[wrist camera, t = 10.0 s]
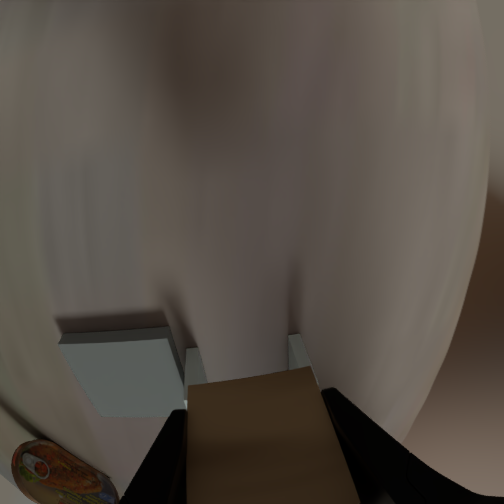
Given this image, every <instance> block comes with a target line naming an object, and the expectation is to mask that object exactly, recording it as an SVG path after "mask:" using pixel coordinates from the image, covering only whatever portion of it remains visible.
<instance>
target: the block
mask: <svg viewBox="0 0 504 504" xmlns="http://www.w3.org/2000/svg"><path fill="white" fill-rule="evenodd" d="M187 412H188V426H187V456H186V483H187V504H360V503H361V502H360V499H359V497H358V494H357V491H356V488H355V485H354V483H353V480H352V477H351V474H350V471H349V469H348V466H347V463H346V460H345V458H344V455H343V452H342V449H341V447H340V444H339V441H338V438H337V436H336V433H335V430H334V427H333V425H332V422H331V419H330V417H329V414H328V411H327V408H326V406H325V403H324V400H323V398H322V395H321V392H320V390H319V387H318V384H317V382H316V379H315V376H314V374H313V371H312V368H311V366H307V367H302V368H297V369H292V370H287V371H282V372H277V373H271V374H266V375H260V376H254V377H248V378H242V379H235V380H228V381H221V382H213V383H205V384H196V385H188V394H187Z"/></svg>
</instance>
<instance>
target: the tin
mask: <svg viewBox="0 0 504 504" xmlns="http://www.w3.org/2000/svg"><path fill="white" fill-rule="evenodd" d="M11 469H12V474H13V477H14V480H15V482H16V484H17V486H18V488H19V489H20V490H21V492H22V493H23V494H24V495H25V496H26V497H27V498H29V499H30V500H32V501H33V502H35V503H37V504H118V503H119V501H120V499H119V496H118V493H117V490H116V488H115V486H114V485H113V483H112V482H111V481H110V479H109V478H108V477H107V476H106V475H104V474H103V473H101V472H100V471H98V470H96V469H94V468H93V467H91V466H89V465H88V464H86V463H84V462H83V461H81V460H79V459H78V458H76V457H75V456H73V455H72V454H70V453H69V452H67V451H66V450H64V449H63V448H61V447H60V446H59V445H57V444H55V443H54V442H51V441H49V440H44V439H37V440H33V441H28V442H25V443H23V444H21V445H20V446H19V447H18V448H17V449H16V450H15V452H14V454H13V457H12V464H11Z"/></svg>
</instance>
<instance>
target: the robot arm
mask: <svg viewBox="0 0 504 504" xmlns="http://www.w3.org/2000/svg"><path fill="white" fill-rule="evenodd" d="M321 395H322V398H323V400H324V403H325V406H326V408H327V411H328V414H329V417H330V419H331V422H332V425H333V427H334V430H335V433H336V436H337V438H338V441H339V444H340V447H341V449H342V452H343V455H344V458H345V460H346V463H347V466H348V469H349V471H350V474H351V477H352V480H353V483H354V485H355V488H356V491H357V494H358V497H359V499H360V502H361V503H360V504H504V497H495V496H484V495H480V494H476V493H474V492H471V491H470V490H468V489H465V488H464V487H462V486H461V485H459V484H457V483H455V482H454V481H452V480H450V479H448V478H447V477H445V476H443V475H442V474H440V473H438V472H437V471H435V470H434V469H432V468H430V467H429V466H427V465H426V464H425V463H424V462H422V461H421V460H420V459H418V458H417V457H416V456H415V455H413V454H412V453H410V452H409V450H407V449H406V448H405V447H404V446H402V445H401V444H400V443H399V442H398V441H396V440H395V439H394V438H393V437H392V436H390V435H389V434H388V433H387V432H386V431H384V430H383V429H382V428H381V427H380V426H379V425H377V424H376V423H375V422H374V421H373V420H371V419H370V418H369V417H368V416H367V415H366V414H365V413H363V412H362V411H361V410H360V409H359V408H358V407H356V406H355V405H354V404H353V403H352V402H351V401H350V400H348V399H347V398H346V397H345V396H344V395H343V394H342V393H340V392H339V391H338V390H337V389H336V388H334V387H331V388H327V389H323V390H322V391H321ZM187 426H188V412H187V410H186V409H174V410H173V411H172V412H171V413H170V415H169V417H168V419H167V420H166V422H165V424H164V426H163V427H162V429H161V431H160V433H159V434H158V436H157V438H156V440H155V441H154V443H153V445H152V446H151V448H150V450H149V452H148V453H147V455H146V457H145V459H144V460H143V462H142V464H141V465H140V467H139V469H138V471H137V472H136V474H135V476H134V477H133V479H132V481H131V483H130V484H129V486H128V488H127V489H126V491H125V493H124V495H125V496H122V498H121V499H120V501H119V503H118V504H187V483H186V456H187Z"/></svg>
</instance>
